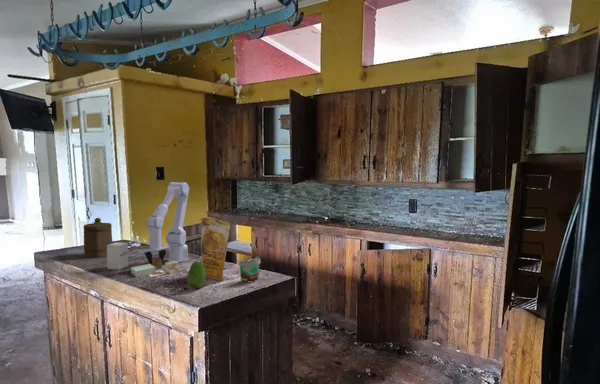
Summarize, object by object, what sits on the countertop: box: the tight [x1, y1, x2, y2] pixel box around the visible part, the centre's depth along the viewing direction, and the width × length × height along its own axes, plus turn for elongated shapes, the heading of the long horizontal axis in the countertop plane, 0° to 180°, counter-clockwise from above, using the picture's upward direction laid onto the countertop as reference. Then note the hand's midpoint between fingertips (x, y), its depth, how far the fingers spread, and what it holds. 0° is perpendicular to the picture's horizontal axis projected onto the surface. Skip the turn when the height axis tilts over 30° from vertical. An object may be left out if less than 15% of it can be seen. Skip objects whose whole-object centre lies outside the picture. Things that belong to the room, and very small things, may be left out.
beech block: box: [164, 261, 179, 275], centre depth 185 cm, size 4×4×5 cm
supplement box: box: [106, 242, 129, 271], centre depth 192 cm, size 7×7×13 cm
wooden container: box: [83, 217, 113, 259], centre depth 219 cm, size 15×15×22 cm
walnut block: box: [152, 256, 163, 270], centre depth 192 cm, size 4×4×5 cm
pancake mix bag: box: [200, 217, 232, 281], centre depth 177 cm, size 7×19×28 cm, turn 52°
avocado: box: [186, 260, 207, 289], centre depth 162 cm, size 8×8×12 cm
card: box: [148, 269, 168, 278], centre depth 183 cm, size 8×8×1 cm
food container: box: [238, 255, 262, 283], centre depth 173 cm, size 12×6×10 cm, turn 148°
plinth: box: [130, 262, 156, 278], centre depth 183 cm, size 9×9×3 cm
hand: (155, 265), depth 192 cm, fingers closed on walnut block, 4 cm apart
